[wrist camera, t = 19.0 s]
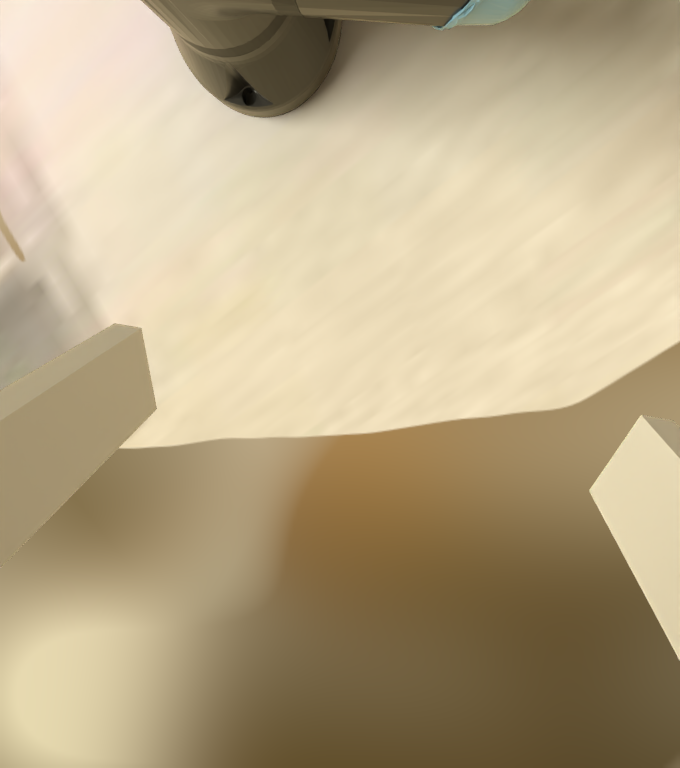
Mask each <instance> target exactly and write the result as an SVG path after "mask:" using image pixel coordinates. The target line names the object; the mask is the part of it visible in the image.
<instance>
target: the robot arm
mask: <svg viewBox="0 0 680 768" xmlns="http://www.w3.org/2000/svg"><path fill="white" fill-rule="evenodd" d="M141 1H142V2H143V3H144V4H145V5H146V6H148V7H149V8H150V9H151V10H152V11H153V12H154V13H155V14H156V15H157V16H158V17H159V18H160V19H161V20H162V21H164V22H165V23H166V24H167V25H168V26H169V27H170V29H171V31H172V34H173V36H174V39H175V41H176V43H177V46H178V48H179V51H180V53H181V55H182V57H183V59H184V61H185V62H186V64H187V66H188V67H189V69H190V70H191V72H192V73H193V74H194V76H195V77H196V79H197V80H198V81H199V82H200V83H201V84H202V86H203V87H204V88H205V89H206V90H208V91H209V92H210V93H211V94H212V95H213V96H215V97H216V98H217V99H218V100H220V101H221V102H222V103H223V104H225V105H226V106H228V107H230V108H231V109H233V110H235V111H237V112H240V113H242V114H245V115H249V116H254V117H272V116H278V115H281V114H284V113H287V112H289V111H291V110H293V109H295V108H297V107H298V106H300V105H301V104H303V103H304V102H305V101H306V100H307V99H309V98H310V97H311V96H312V95H313V93H314V92H315V91H316V90H317V89H318V88H319V86H320V85H321V83H322V82H323V80H324V79H325V77H326V75H327V74H328V72H329V70H330V67H331V65H332V63H333V60H334V58H335V55H336V52H337V48H338V44H339V39H340V34H341V26H342V20H354V21H370V22H385V23H400V24H416V25H431V26H432V27H433V28H435V29H437V30H444V29H450V28H452V27H454V26H456V25H496V24H497V23H500V22H502V21H505V20H507V19H509V18H510V17H512V16H514V15H515V14H517V13H518V12H519V11H520V10H521V9H523V8H524V7H525V6H526V4H527V3H528V2H529V1H530V0H141ZM156 409H157V408H156V402H155V397H154V392H153V387H152V382H151V376H150V371H149V366H148V361H147V355H146V350H145V345H144V340H143V335H142V329H141V328H138V327H132V326H127V325H121V324H113V325H111V326H110V327H108V328H106V329H104V330H103V331H101V332H99V333H98V334H96V335H94V336H93V337H91V338H89V339H87V340H86V341H84V342H82V343H81V344H79V345H77V346H75V347H74V348H72V349H70V350H69V351H67V352H65V353H63V354H62V355H60V356H58V357H57V358H55V359H53V360H51V361H50V362H48V363H46V364H45V365H43V366H41V367H39V368H38V369H36V370H34V371H33V372H31V373H29V374H27V375H26V376H24V377H22V378H21V379H19V380H17V381H15V382H14V383H12V384H10V385H9V386H7V387H5V388H3V389H2V390H0V568H1V567H2V566H3V565H4V564H5V563H6V562H7V561H8V560H9V559H10V558H11V557H12V556H13V555H14V554H15V553H16V552H17V551H18V550H19V549H20V548H21V547H22V546H23V544H25V542H27V541H28V539H30V538H31V537H32V536H33V535H34V534H35V533H36V531H38V530H39V528H40V527H41V526H42V525H43V524H44V523H45V522H46V521H47V520H48V519H49V518H50V517H51V516H52V515H53V514H54V513H55V512H56V511H57V510H58V509H59V508H60V507H61V506H62V505H63V504H64V503H65V502H66V501H67V500H68V499H69V498H70V497H71V496H72V495H73V494H74V493H75V492H76V491H77V490H78V489H79V488H80V487H81V485H82V484H84V482H86V480H88V478H89V477H90V476H91V475H92V474H93V473H94V472H95V471H96V470H97V469H98V468H99V467H100V466H101V465H102V464H103V463H104V462H105V461H106V460H107V459H108V458H109V457H110V456H111V455H112V454H113V453H114V452H115V451H116V450H117V449H118V448H119V447H120V446H121V445H122V444H123V443H124V442H125V441H126V440H127V439H128V438H129V437H130V436H131V435H132V434H133V433H134V432H135V431H136V430H137V429H138V427H139V426H140V425H141V424H142V423H143V422H144V421H145V420H146V419H147V418H148V417H149V416H150V415H151V414H152V413H153V412H154V411H155V410H156ZM589 491H590V493H591V495H592V497H593V499H594V501H595V503H596V505H597V507H598V508H599V510H600V512H601V514H602V516H603V518H604V519H605V522H606V523H607V525H608V527H609V529H610V531H611V533H612V535H613V536H614V538H615V540H616V542H617V544H618V546H619V548H620V550H621V551H622V553H623V555H624V557H625V559H626V561H627V562H628V565H629V566H630V568H631V570H632V572H633V574H634V576H635V578H636V579H637V581H638V583H639V585H640V587H641V589H642V590H643V592H644V595H645V596H646V598H647V600H648V602H649V604H650V606H651V607H652V610H653V611H654V613H655V615H656V617H657V619H658V620H659V622H660V624H661V626H662V628H663V630H664V632H665V634H666V636H667V638H668V639H669V641H670V643H671V645H672V647H673V649H674V651H675V653H676V654H677V656H678V658H679V660H680V427H679V426H678V425H677V424H676V423H675V422H674V421H673V420H668V419H662V418H656V417H650V416H644V415H641V416H640V417H639V419H638V420H637V422H636V423H635V425H634V426H633V427H632V429H631V431H630V432H629V433H628V435H627V436H626V438H625V439H624V441H623V442H622V444H621V445H620V447H619V448H618V450H617V451H616V452H615V454H614V455H613V457H612V458H611V460H610V461H609V463H608V464H607V465H606V467H605V468H604V470H603V471H602V473H601V474H600V476H599V477H598V479H597V480H596V481H595V483H594V484H593V486H592V487H591V489H590V490H589Z"/></svg>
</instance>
